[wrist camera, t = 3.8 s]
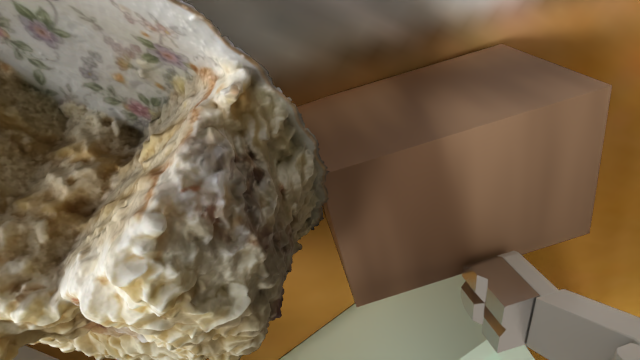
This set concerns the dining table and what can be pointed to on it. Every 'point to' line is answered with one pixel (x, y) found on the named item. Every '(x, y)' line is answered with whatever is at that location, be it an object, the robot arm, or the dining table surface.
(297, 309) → the dining table surface
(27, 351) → the grey block
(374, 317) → the serving tray
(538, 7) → the dining table surface
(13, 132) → the cake
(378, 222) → the walnut block
